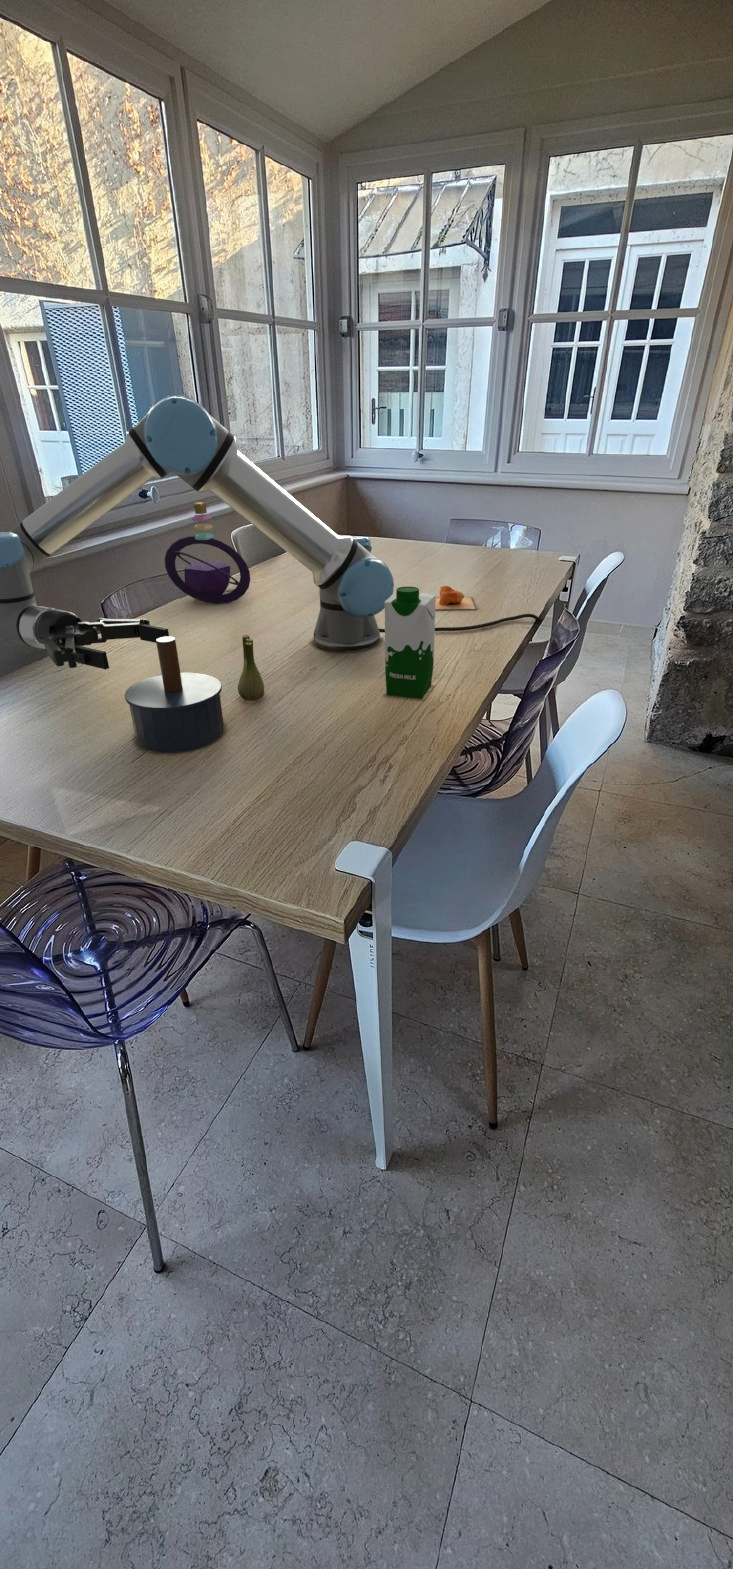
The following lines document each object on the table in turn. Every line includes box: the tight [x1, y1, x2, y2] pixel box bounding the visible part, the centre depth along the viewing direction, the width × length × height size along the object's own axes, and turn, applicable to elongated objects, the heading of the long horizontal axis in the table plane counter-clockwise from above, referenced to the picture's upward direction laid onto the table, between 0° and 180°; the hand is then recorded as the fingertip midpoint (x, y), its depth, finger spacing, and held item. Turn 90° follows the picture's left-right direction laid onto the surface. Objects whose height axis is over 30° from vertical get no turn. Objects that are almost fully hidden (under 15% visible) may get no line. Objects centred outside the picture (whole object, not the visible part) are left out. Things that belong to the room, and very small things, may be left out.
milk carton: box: [384, 586, 437, 700], centre depth 130 cm, size 9×9×20 cm
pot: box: [128, 693, 225, 754], centre depth 118 cm, size 15×15×8 cm
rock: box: [435, 585, 476, 611], centre depth 187 cm, size 12×12×4 cm
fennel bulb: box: [237, 634, 265, 702], centre depth 129 cm, size 6×5×12 cm
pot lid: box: [124, 635, 223, 711], centre depth 114 cm, size 16×16×10 cm
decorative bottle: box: [164, 501, 251, 605], centre depth 193 cm, size 22×21×25 cm
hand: (138, 648), depth 115 cm, fingers open, 13 cm apart
